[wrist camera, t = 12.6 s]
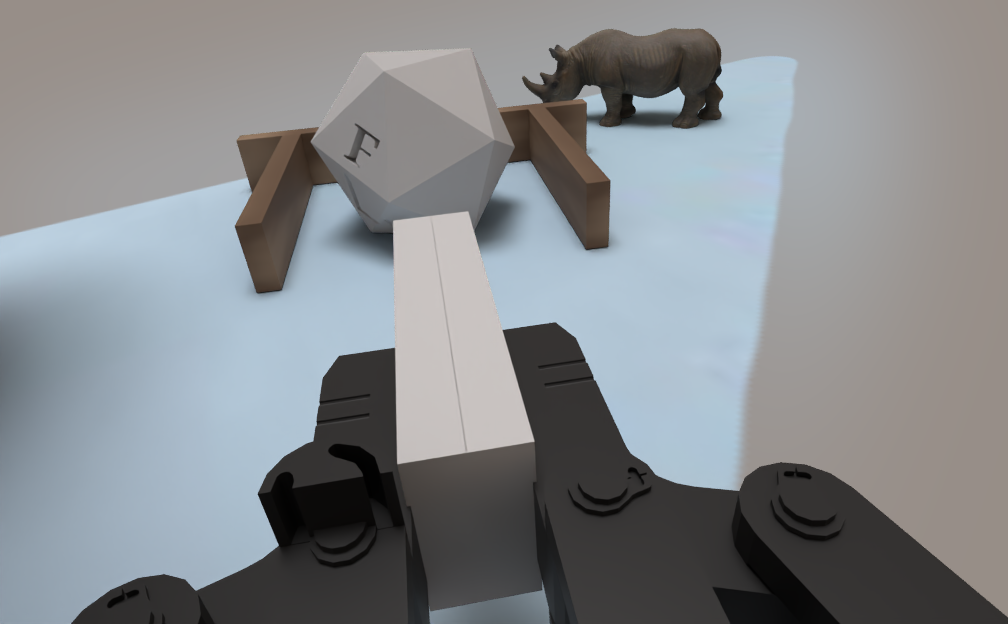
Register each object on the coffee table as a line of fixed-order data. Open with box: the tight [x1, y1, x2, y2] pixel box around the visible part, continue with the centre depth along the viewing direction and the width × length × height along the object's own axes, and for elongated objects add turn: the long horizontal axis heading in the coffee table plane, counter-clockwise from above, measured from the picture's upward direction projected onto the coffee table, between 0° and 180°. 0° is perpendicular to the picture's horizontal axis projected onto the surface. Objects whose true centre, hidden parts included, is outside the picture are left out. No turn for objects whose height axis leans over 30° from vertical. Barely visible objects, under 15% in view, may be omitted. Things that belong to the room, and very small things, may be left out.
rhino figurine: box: [522, 29, 723, 129], centre depth 41 cm, size 4×14×6 cm, turn 74°
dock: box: [235, 99, 610, 293], centre depth 31 cm, size 20×14×3 cm
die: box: [311, 48, 515, 233], centre depth 28 cm, size 8×9×10 cm
